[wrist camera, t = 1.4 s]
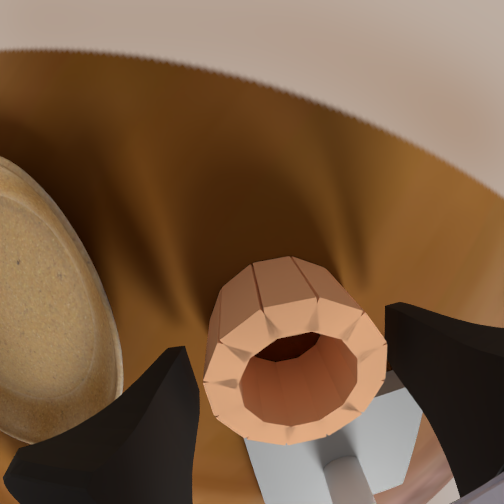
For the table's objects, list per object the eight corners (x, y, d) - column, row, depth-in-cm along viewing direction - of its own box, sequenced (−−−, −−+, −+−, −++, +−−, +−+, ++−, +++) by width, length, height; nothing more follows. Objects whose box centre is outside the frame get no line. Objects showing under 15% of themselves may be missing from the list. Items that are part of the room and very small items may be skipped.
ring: (348, 363, 14) (381, 420, 10) (227, 388, 13) (228, 454, 10) (341, 246, 12) (387, 280, 8) (197, 272, 12) (184, 321, 8)
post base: (395, 469, 17) (428, 536, 10) (268, 501, 16) (279, 579, 10) (415, 362, 14) (484, 445, 8) (239, 405, 14) (246, 523, 8)
